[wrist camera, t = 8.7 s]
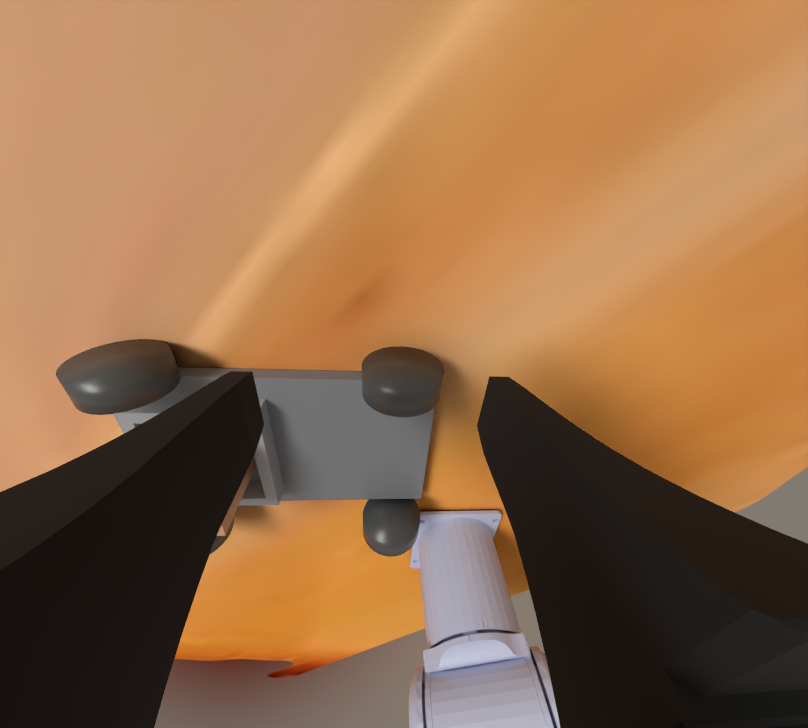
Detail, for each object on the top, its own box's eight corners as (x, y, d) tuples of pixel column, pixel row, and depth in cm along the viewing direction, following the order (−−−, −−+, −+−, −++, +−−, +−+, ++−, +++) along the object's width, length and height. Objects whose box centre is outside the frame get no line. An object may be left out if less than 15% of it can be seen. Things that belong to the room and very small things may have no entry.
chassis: (417, 501, 28) (423, 555, 24) (183, 505, 26) (148, 563, 22) (439, 347, 20) (454, 391, 16) (100, 338, 18) (22, 383, 14)
